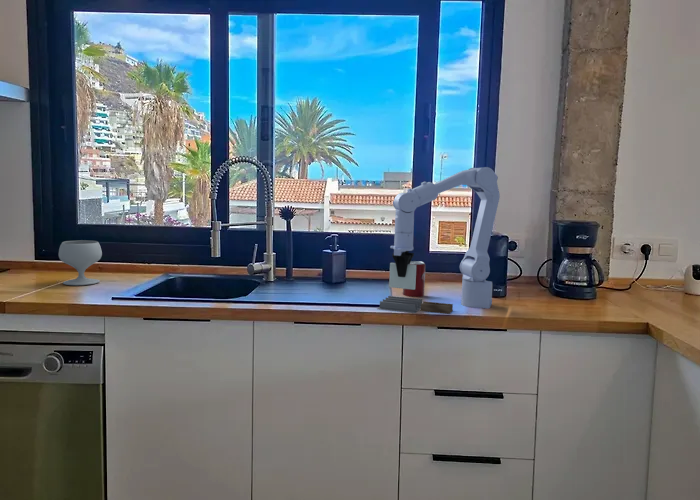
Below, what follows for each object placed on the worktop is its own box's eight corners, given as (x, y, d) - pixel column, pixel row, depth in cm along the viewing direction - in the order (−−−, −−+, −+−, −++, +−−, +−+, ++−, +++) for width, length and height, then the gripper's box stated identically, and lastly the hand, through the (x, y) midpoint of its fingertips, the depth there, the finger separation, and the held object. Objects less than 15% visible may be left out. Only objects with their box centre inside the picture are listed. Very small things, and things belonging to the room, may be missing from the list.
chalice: (60, 280, 200) (59, 240, 198) (102, 279, 205) (101, 239, 204) (58, 287, 187) (56, 244, 185) (103, 285, 193) (101, 243, 191)
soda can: (407, 299, 182) (409, 264, 181) (399, 295, 189) (400, 261, 188) (427, 298, 184) (429, 263, 183) (418, 294, 191) (420, 260, 190)
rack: (424, 306, 172) (425, 298, 171) (415, 315, 160) (415, 306, 159) (388, 303, 176) (388, 294, 176) (376, 311, 164) (376, 302, 163)
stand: (453, 312, 165) (453, 303, 165) (449, 316, 160) (450, 307, 159) (423, 309, 168) (424, 300, 168) (419, 313, 163) (419, 304, 162)
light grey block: (415, 289, 166) (416, 264, 165) (414, 289, 165) (415, 265, 164) (390, 286, 169) (391, 262, 168) (389, 287, 168) (390, 263, 167)
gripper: (397, 229, 173) (396, 272, 175) (384, 233, 160) (383, 278, 161) (419, 231, 171) (417, 273, 172) (407, 234, 157) (406, 280, 159)
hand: (402, 276), depth 167 cm, fingers closed on light grey block, 1 cm apart
